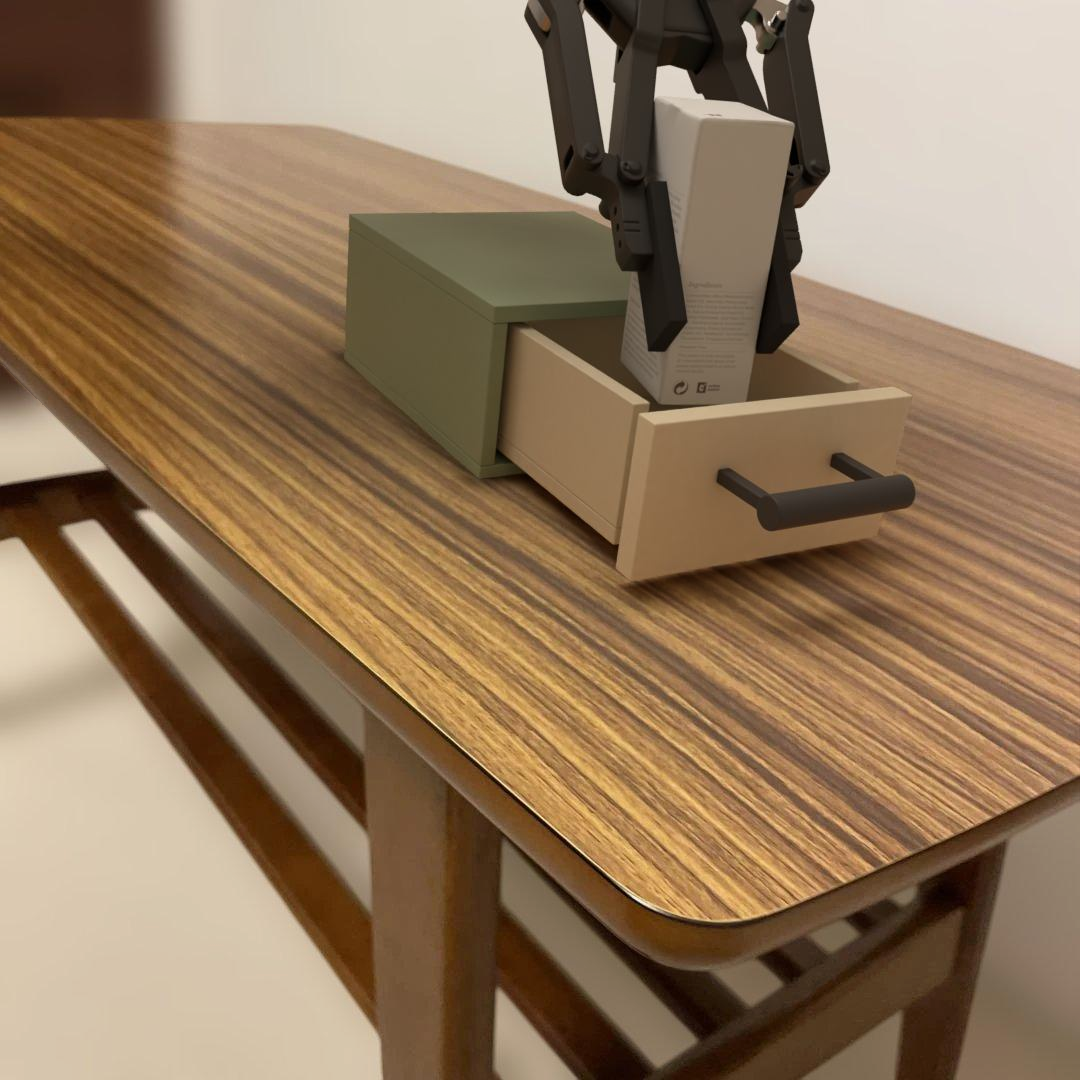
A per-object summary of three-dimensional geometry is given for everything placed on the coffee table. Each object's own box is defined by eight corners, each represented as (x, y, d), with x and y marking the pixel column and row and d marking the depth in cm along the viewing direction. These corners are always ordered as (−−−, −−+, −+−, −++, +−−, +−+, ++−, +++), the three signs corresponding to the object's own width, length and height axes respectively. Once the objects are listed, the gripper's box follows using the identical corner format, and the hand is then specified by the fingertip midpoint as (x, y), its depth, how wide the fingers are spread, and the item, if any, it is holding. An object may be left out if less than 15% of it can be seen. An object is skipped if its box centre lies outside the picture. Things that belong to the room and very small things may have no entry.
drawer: (945, 579, 52) (988, 431, 49) (691, 634, 46) (722, 467, 43) (670, 407, 68) (690, 287, 65) (452, 430, 62) (462, 297, 59)
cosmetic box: (749, 408, 54) (800, 123, 49) (657, 408, 53) (698, 116, 47) (701, 362, 59) (742, 99, 54) (616, 360, 58) (649, 93, 53)
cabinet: (723, 451, 66) (752, 293, 62) (478, 482, 59) (494, 306, 55) (558, 346, 79) (574, 211, 75) (343, 361, 72) (348, 213, 68)
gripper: (784, -34, 64) (865, 379, 57) (456, -70, 59) (501, 374, 52) (854, -154, 57) (955, 300, 50) (488, -205, 52) (545, 287, 45)
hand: (723, 337), depth 51 cm, fingers closed on cosmetic box, 4 cm apart
